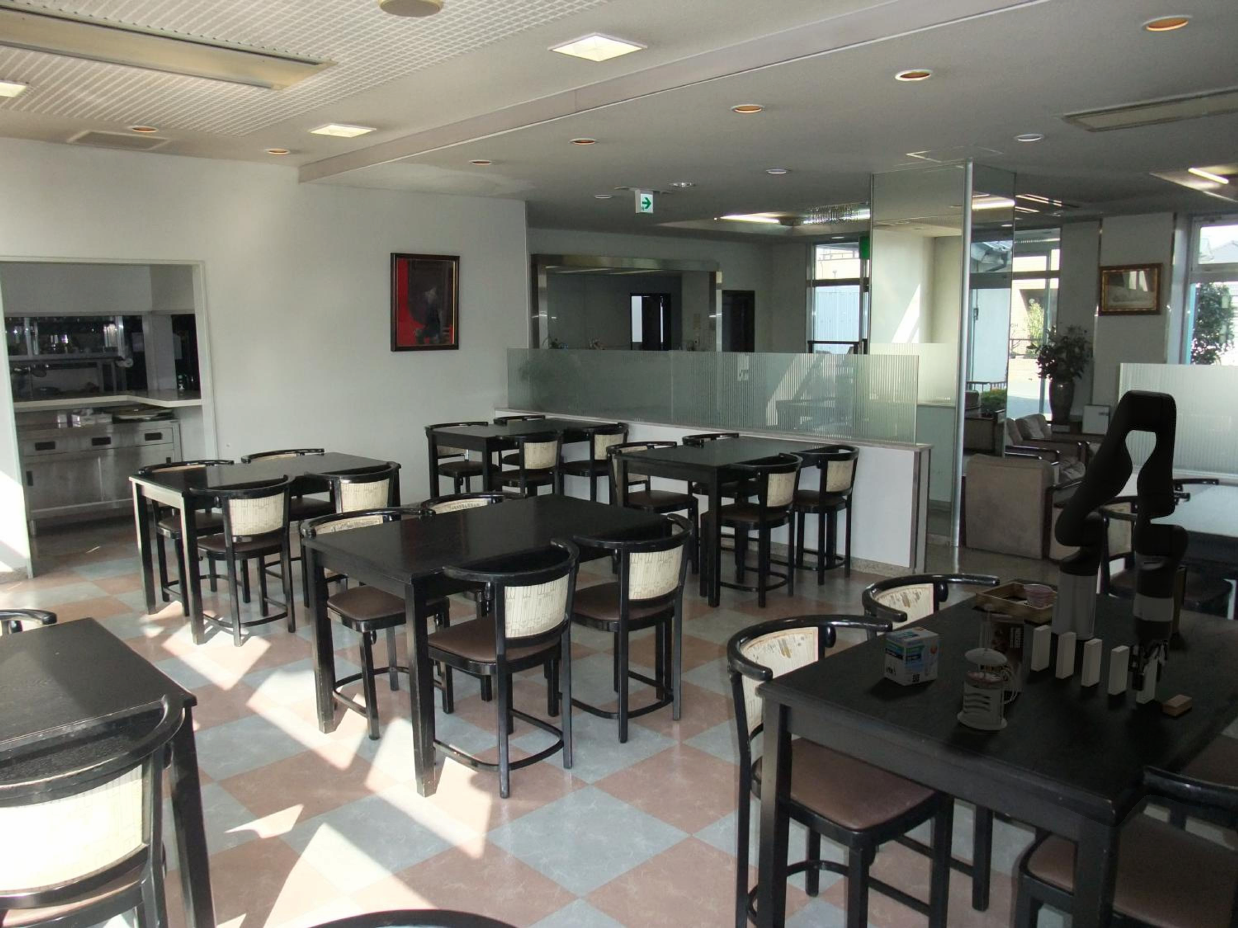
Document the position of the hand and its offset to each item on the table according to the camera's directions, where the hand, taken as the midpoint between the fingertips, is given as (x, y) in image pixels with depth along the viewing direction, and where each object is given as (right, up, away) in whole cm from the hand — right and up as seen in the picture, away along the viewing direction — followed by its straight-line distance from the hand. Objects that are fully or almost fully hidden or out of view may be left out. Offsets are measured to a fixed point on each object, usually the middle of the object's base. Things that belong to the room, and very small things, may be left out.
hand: (1146, 685), depth 203 cm
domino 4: (-4, -3, +5) cm, 7 cm away
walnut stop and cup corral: (+3, +2, +36) cm, 36 cm away
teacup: (+6, +6, +66) cm, 67 cm away
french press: (-39, -5, -10) cm, 41 cm away
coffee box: (-29, -2, +9) cm, 30 cm away
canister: (+31, +4, +49) cm, 58 cm away
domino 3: (-7, -2, +10) cm, 12 cm away
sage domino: (0, -3, +1) cm, 3 cm away
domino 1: (-15, 0, +19) cm, 24 cm away
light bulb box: (-47, -2, +13) cm, 49 cm away
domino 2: (-11, -1, +15) cm, 18 cm away
